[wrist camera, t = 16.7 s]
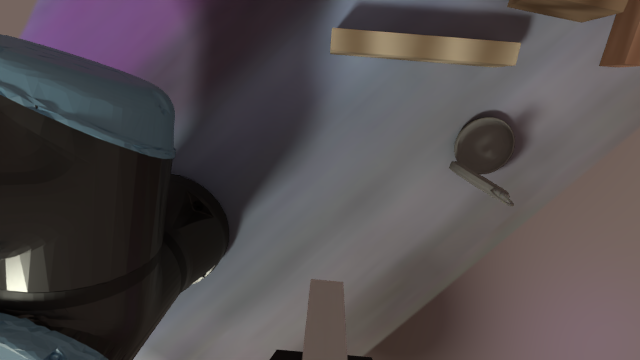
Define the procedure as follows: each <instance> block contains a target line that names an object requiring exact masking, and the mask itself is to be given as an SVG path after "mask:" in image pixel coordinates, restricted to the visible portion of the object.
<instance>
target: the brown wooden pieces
mask: <svg viewBox="0 0 640 360" xmlns="http://www.w3.org/2000/svg"><path fill="white" fill-rule="evenodd" d="M520 46H521V43H516V42H503V41H491V40H478V39H466V38H454V37H441V36H429V35H416V34H404V33H391V32H379V31H366V30H354V29H341V28H332V36H331V48H330V54H336V55H349V56H361V57H373V58H386V59H398V60H410V61H423V62H435V63H447V64H460V65H472V66H484V67H503V66H514V65H516V61H517V57H518V53H519V50H520ZM599 66H608V67H633V66H640V0H628V2H627V5H626V7H625V9H624V11H623V12H622V13H618V14H616V17H615V20H614V23H613V26H612V29H611V32H610V35H609V38H608V41H607V44H606V47H605V50H604V53H603V56H602V59H601V62H600V65H599Z"/></svg>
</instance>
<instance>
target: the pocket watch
mask: <svg viewBox="0 0 640 360" xmlns="http://www.w3.org/2000/svg"><path fill="white" fill-rule="evenodd" d="M514 147H515V137H514V133H513V131H512V129H511V127H510V126H509V125H508V124H507V123H505V122H504V121H502V120H500V119H497V118H494V117H483V118H479V119H476V120H474V121H472V122H470V123H469V124H467V125H466V126H465V127H464V128H463V129H462V130H461V131H460V133H459V134H458V136H457V138H456V141H455V147H454V152H455V157H456V160H457V161H455V162H453V161H452V162H451V164H450V167H449V168H450V169H451V170H452V171H453V172H454V173H456V174H457V175H459V176H460V177H462V178H463V179H465V180H466V181H468V182H469V183H471V184H472V185H474V186H476V187H477V188H479V189H480V190H482V191H484V192H485V193H487V194H489V195H490V196H492V197H494V198H496V199H498V200H500V201H501V202H503V203H505V204H506V205H508V206H514V204H513V202H512V201H511V200H510V199H509V198H510V196H509V193H508V192H507V191H506V190H504V189H502V188H501V187H499V186H497V185H496V184H494V183H492V182H491V181H489V180H488V179H486V178H484V177H483V176H481V175H479V174H488V173H491V172H494V171H496V170H498V169H499V168H501V167H502V166H504V164H505V163H506V162H507V161H508V160H509V159H510V157H511V155H512V153H513V151H514ZM506 200H507V201H509V202H510V204H509V203H507V202H505V201H506Z"/></svg>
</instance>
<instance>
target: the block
mask: <svg viewBox="0 0 640 360" xmlns="http://www.w3.org/2000/svg"><path fill="white" fill-rule="evenodd" d="M627 2H628V0H509V3H508V6H507V7H510V8H515V9H519V10H524V11H529V12H534V13H539V14H543V15H548V16H553V17H558V18H562V19H567V20H572V21H577V22H585V21H589V20H593V19H598V18H602V17H606V16H610V15H614V14H618V13H622V12H623V11H624V9H625V7H626V5H627Z"/></svg>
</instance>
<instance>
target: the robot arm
mask: <svg viewBox="0 0 640 360" xmlns="http://www.w3.org/2000/svg"><path fill="white" fill-rule="evenodd" d="M174 122H175V110H174V106H173V104H172V101H171V100H170V98H169V97H168V95H167V94H166V93H165V92H164V91H163V90H161V89H160V88H159V87H157V86H155V85H154V84H152V83H150V82H148V81H146V80H143V79H141V78H138V77H136V76H133V75H131V74H128V73H126V72H123V71H120V70H118V69H115V68H112V67H109V66H106V65H103V64H100V63H98V62H95V61H92V60H89V59H85V58H82V57H79V56H76V55H73V54H70V53H67V52H63V51H60V50H57V49H54V48H50V47H47V46H44V45H40V44H37V43H33V42H30V41H26V40H23V39H19V38H15V37H11V36H7V35H1V34H0V360H133V359H134V357H135V356H136V354H137V353H138V352H139V350H140V349H141V347H142V346H143V345H144V343H145V342H146V340H147V339H148V338H149V336H150V335H151V333H152V332H153V331H154V329H155V328H156V326H157V325H158V324H159V322H160V321H161V319H162V318H163V316H164V315H165V314H166V312H167V311H168V309H169V308H170V307H171V305H172V304H173V302H174V301H175V300H176V298H177V297H178V295H179V294H180V293H181V292H182V291H184V290H185V289H187V288H188V287H189V286H190V285H191V284H194V283H196V282H198V281H200V280H202V279H203V278H205V277H206V276H207V275H209V274H210V273H211V272H212V271H213V270H214V268H215V267H216V266H217V265H218V263H219V261H220V260H221V258H222V257H223V255H224V253H225V251H226V249H227V245H228V241H229V227H228V222H227V218H226V216H225V213H224V211H223V209H222V207H221V206H220V204H219V203H218V201H217V200H216V199H215V198H214V196H213V195H212V194H211V193H210V192H208V191H207V190H206V189H205V188H204V187H202V186H201V185H199V184H198V183H196V182H194V181H192V180H190V179H187V178H185V177H182V176H178V175H173V174H171V167H172V159H173V158H175V149H174V147H173V144H174ZM270 360H372V358H371V357H361V356H350V355H347V342H346V324H345V306H344V288H343V282H337V281H326V280H315V279H311V283H310V292H309V301H308V310H307V320H306V329H305V338H304V347H303V352H298V351H287V350H276V352H275V353H274V354H273V356H272V357H271V359H270Z"/></svg>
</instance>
